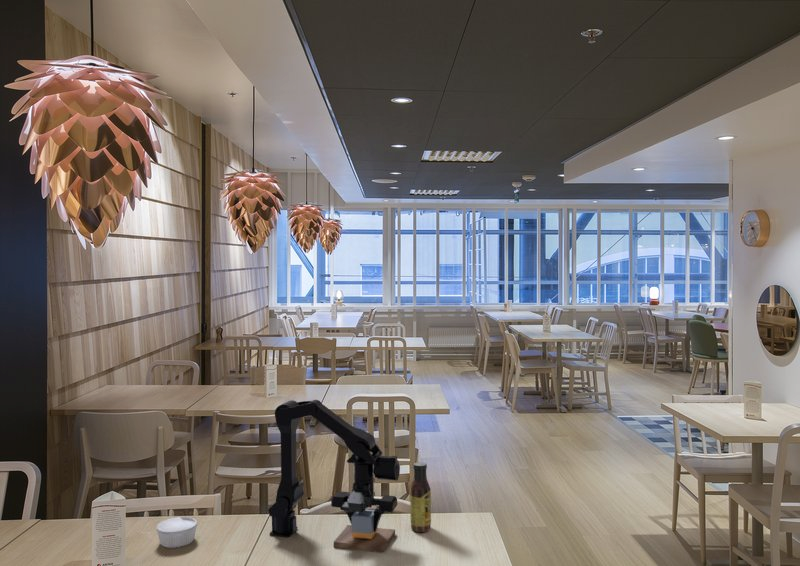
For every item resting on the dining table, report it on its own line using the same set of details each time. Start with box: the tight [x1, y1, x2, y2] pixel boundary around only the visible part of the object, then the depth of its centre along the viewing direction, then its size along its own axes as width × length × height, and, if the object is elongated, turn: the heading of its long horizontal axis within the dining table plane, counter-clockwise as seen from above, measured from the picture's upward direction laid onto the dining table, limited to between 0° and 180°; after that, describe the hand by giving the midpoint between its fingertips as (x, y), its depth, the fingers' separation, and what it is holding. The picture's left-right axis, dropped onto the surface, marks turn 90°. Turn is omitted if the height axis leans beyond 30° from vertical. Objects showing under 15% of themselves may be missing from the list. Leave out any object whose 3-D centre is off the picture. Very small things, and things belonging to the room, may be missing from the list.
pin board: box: [333, 524, 396, 553], centre depth 185 cm, size 15×12×5 cm
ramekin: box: [156, 516, 198, 549], centre depth 187 cm, size 11×11×5 cm
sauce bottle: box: [409, 461, 432, 533], centre depth 193 cm, size 6×6×20 cm
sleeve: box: [351, 508, 379, 539], centre depth 185 cm, size 6×6×6 cm
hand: (364, 530), depth 185 cm, fingers closed on sleeve, 6 cm apart
